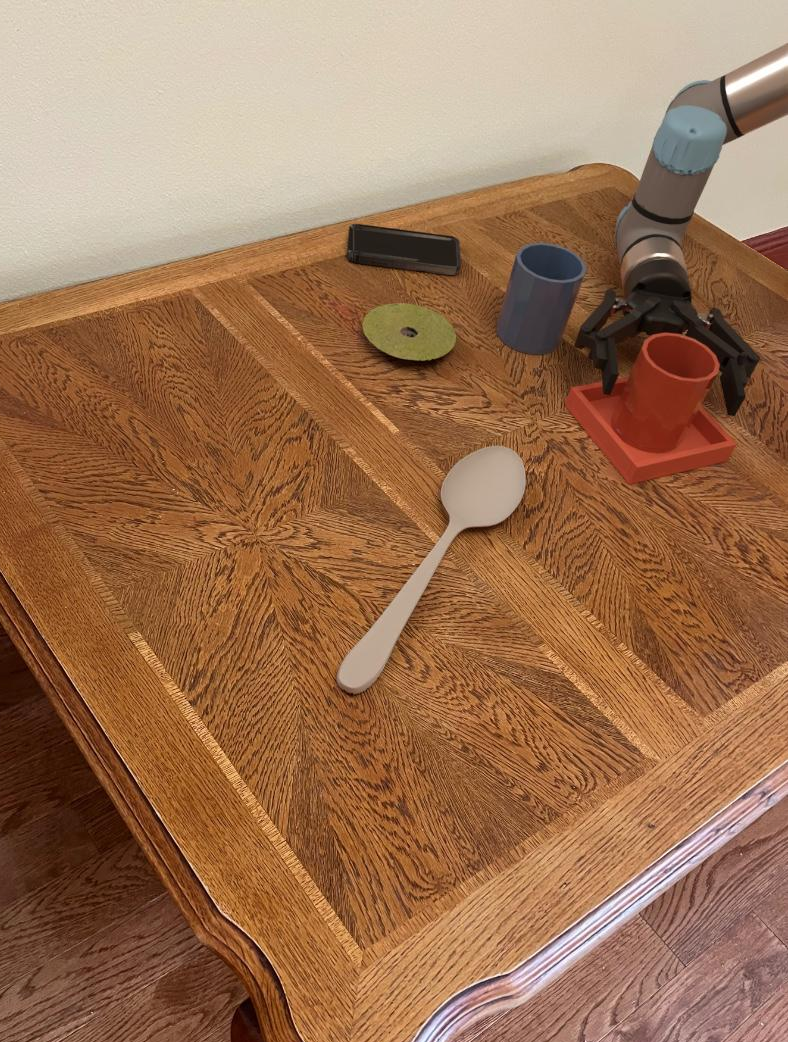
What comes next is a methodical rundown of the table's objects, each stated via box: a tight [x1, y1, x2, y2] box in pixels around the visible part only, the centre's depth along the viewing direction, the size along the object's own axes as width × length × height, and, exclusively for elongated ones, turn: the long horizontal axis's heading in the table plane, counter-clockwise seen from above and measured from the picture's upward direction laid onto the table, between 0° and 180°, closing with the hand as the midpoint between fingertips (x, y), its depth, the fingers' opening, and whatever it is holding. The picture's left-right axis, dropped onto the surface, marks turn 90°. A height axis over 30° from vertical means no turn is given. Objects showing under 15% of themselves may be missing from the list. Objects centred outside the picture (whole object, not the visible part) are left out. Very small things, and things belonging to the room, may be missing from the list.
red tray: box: [564, 375, 738, 485], centre depth 106 cm, size 14×14×3 cm
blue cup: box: [495, 242, 588, 356], centre depth 113 cm, size 8×8×10 cm
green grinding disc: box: [362, 302, 457, 362], centre depth 112 cm, size 11×11×2 cm
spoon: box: [336, 445, 527, 695], centre depth 90 cm, size 35×8×3 cm, turn 150°
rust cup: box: [611, 333, 720, 453], centre depth 103 cm, size 8×8×10 cm
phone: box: [346, 223, 462, 276], centre depth 125 cm, size 8×1×15 cm
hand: (673, 395), depth 100 cm, fingers open, 13 cm apart
